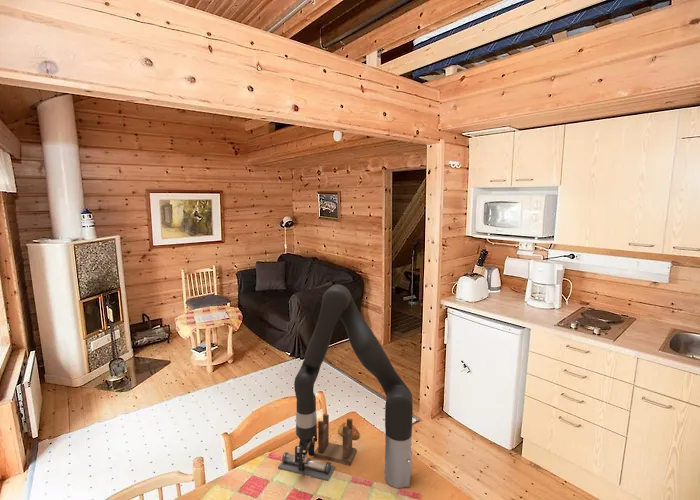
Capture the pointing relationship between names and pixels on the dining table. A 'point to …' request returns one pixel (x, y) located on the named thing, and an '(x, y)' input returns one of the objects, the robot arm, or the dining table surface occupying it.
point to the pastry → (354, 431)
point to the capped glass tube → (308, 463)
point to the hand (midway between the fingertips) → (306, 462)
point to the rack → (332, 450)
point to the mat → (307, 471)
